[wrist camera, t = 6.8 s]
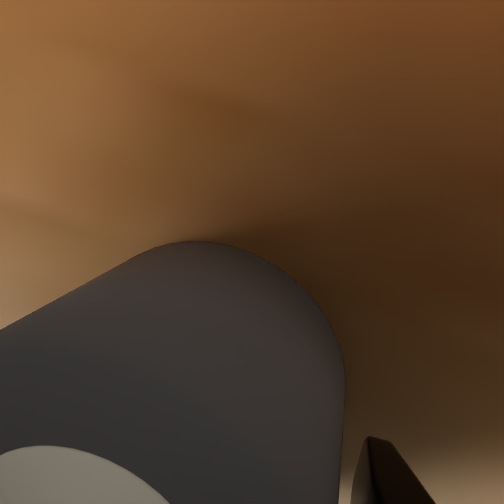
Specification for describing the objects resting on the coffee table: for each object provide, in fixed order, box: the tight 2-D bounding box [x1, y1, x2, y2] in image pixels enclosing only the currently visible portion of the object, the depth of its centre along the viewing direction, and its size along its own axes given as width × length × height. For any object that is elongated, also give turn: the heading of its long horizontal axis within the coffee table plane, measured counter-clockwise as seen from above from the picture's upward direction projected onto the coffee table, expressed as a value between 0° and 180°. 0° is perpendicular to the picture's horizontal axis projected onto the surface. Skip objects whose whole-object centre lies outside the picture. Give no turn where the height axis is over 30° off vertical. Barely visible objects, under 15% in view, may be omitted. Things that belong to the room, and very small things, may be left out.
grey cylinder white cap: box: [0, 241, 345, 504], centre depth 7 cm, size 6×6×5 cm
